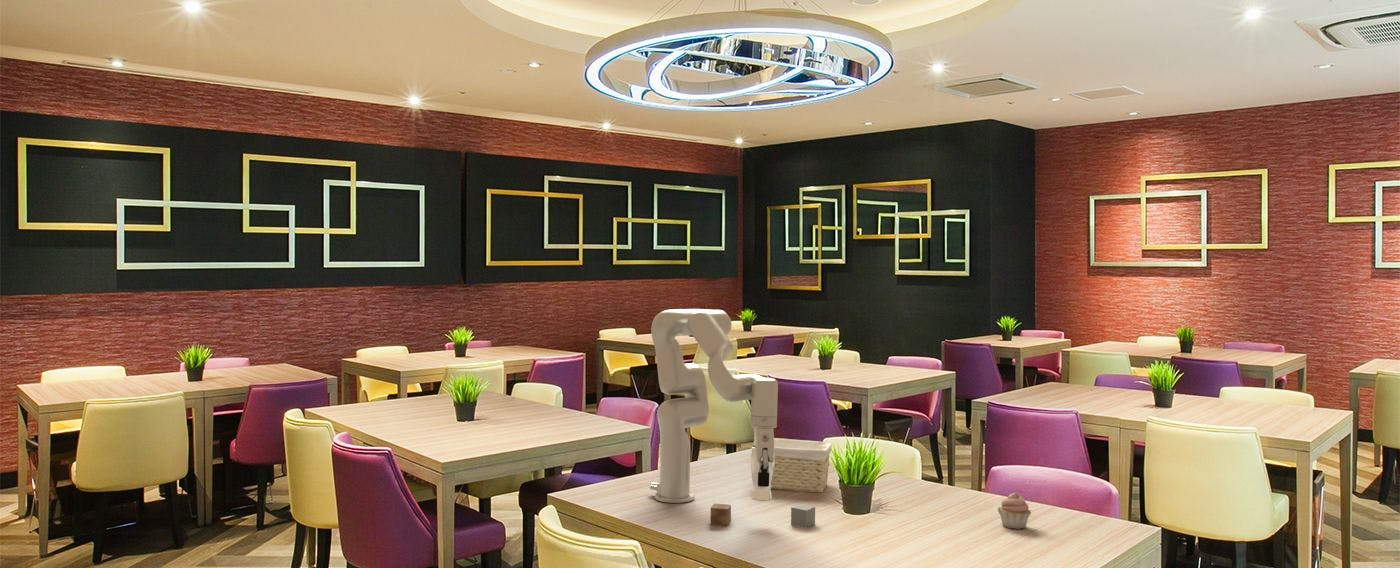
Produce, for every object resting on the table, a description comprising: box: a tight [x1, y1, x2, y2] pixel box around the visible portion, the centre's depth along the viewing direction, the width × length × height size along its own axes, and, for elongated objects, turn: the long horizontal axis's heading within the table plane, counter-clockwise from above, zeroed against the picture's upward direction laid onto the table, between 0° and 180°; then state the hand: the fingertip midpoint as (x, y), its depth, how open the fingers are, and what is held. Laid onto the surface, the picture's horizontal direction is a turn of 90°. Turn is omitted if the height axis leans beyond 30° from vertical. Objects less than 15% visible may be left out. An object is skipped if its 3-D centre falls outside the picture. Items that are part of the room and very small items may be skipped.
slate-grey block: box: [790, 503, 816, 529], centre depth 263 cm, size 5×5×5 cm
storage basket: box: [771, 437, 833, 493], centre depth 308 cm, size 24×16×15 cm
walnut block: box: [709, 503, 732, 527], centre depth 262 cm, size 5×5×5 cm
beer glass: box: [749, 444, 775, 502], centre depth 262 cm, size 7×7×15 cm
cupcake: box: [997, 492, 1032, 530], centre depth 263 cm, size 9×9×10 cm
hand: (761, 482), depth 262 cm, fingers closed on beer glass, 6 cm apart
